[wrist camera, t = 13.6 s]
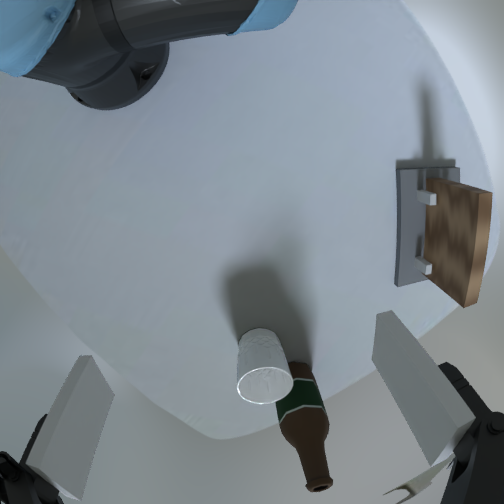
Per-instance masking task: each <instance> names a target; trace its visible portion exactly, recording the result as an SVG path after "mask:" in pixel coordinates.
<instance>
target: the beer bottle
mask: <svg viewBox="0 0 504 504" xmlns="http://www.w3.org/2000/svg"><path fill="white" fill-rule="evenodd" d="M288 366H289V369H290V372H291V375H292V378H293V387H292V389H291V391H290V392H289V394H288V395H286V396H285V397H284V398H282V399H280V400H278V401H275V402H276V408H277V414H278V420H279V425H280V429H281V432H282V434H283V436H284V437H285V439H286V440H287V441H288V442H289V443H290V444H291V445H292V446H293V447H295V448H296V450H297V452H298V454H299V457H300V460H301V464H302V467H303V471H304V474H305V477H306V480H307V484H306V487H307V489H308V490H309V491H310V492H320V491H323V490H326V489H328V488H330V487H331V486H332V485H333V479H332V478H331V477H330V475H329V470H328V466H327V460H326V455H325V449H324V441H325V439H326V437H327V434H328V431H329V421H328V417H327V413H326V410H325V407H324V404H323V401H322V398H321V395H320V392H319V389H318V386H317V383H316V380H315V378H314V375H313V373H312V372H311V370H310V368H309V367H308V365H307V364H305V363H297V362H290V363H288Z"/></svg>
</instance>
